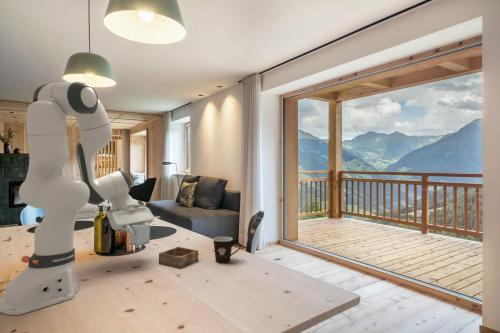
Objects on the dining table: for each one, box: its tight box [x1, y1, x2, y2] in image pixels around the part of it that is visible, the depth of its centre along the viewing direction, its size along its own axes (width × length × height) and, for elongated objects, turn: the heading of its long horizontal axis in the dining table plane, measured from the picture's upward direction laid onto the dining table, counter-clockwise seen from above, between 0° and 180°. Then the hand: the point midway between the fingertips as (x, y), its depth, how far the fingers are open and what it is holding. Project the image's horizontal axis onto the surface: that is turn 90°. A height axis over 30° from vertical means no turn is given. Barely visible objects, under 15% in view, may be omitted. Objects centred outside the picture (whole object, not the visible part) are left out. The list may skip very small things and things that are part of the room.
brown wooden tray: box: [158, 246, 199, 269], centre depth 136 cm, size 12×12×4 cm
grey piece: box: [129, 223, 151, 247], centre depth 130 cm, size 6×5×8 cm
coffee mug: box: [213, 236, 242, 264], centre depth 137 cm, size 12×9×10 cm
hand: (141, 233), depth 129 cm, fingers closed on grey piece, 6 cm apart
